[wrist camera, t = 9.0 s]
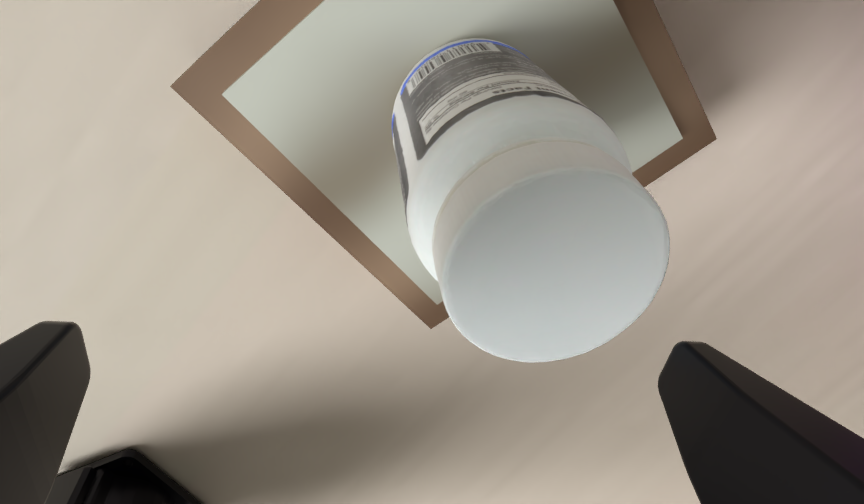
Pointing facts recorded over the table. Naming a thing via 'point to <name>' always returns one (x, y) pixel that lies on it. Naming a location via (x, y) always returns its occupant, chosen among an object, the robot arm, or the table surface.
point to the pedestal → (381, 81)
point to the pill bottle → (522, 205)
